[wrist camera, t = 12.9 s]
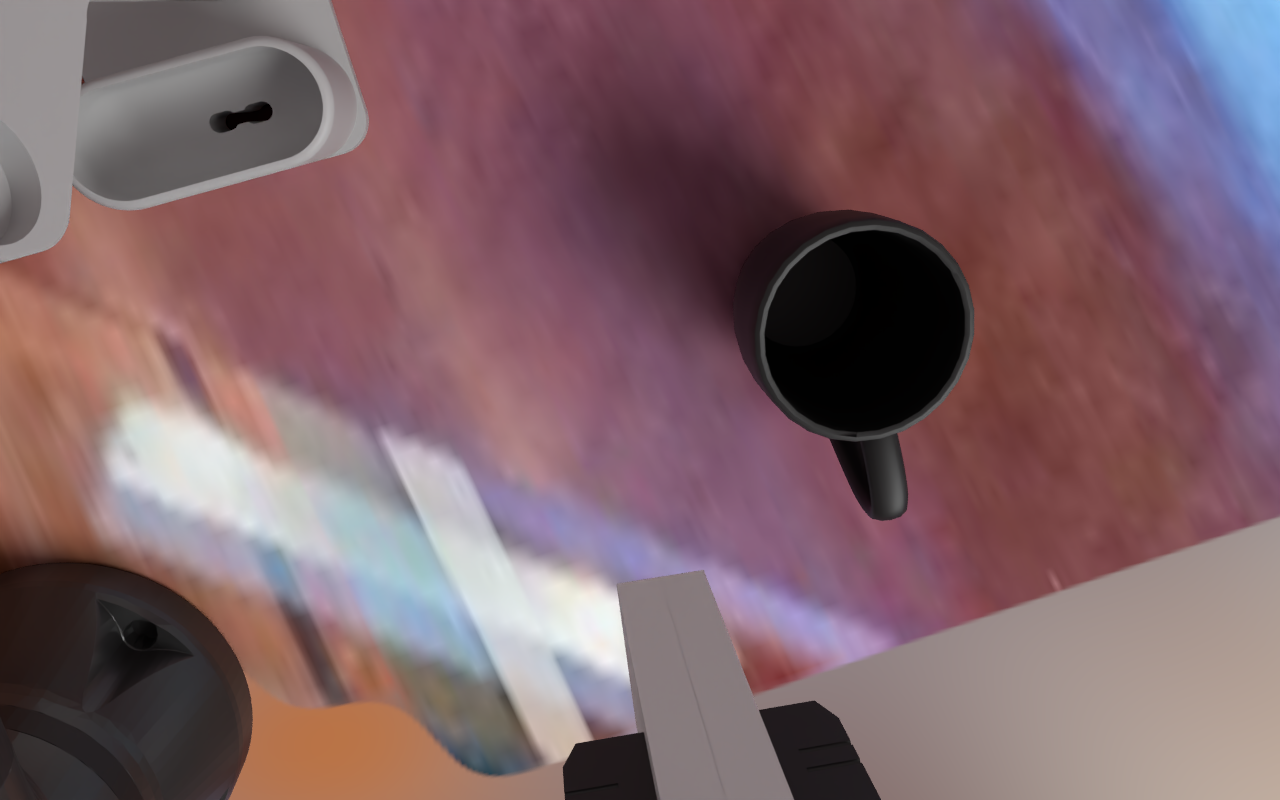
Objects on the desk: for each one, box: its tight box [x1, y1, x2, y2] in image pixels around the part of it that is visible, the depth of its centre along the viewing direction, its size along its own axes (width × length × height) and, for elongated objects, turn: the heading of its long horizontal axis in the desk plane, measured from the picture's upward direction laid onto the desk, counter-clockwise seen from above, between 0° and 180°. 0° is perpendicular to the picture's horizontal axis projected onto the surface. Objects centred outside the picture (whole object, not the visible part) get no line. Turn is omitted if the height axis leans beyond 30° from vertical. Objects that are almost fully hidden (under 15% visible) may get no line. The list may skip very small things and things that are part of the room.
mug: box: [733, 210, 974, 521], centre depth 43 cm, size 8×12×10 cm
